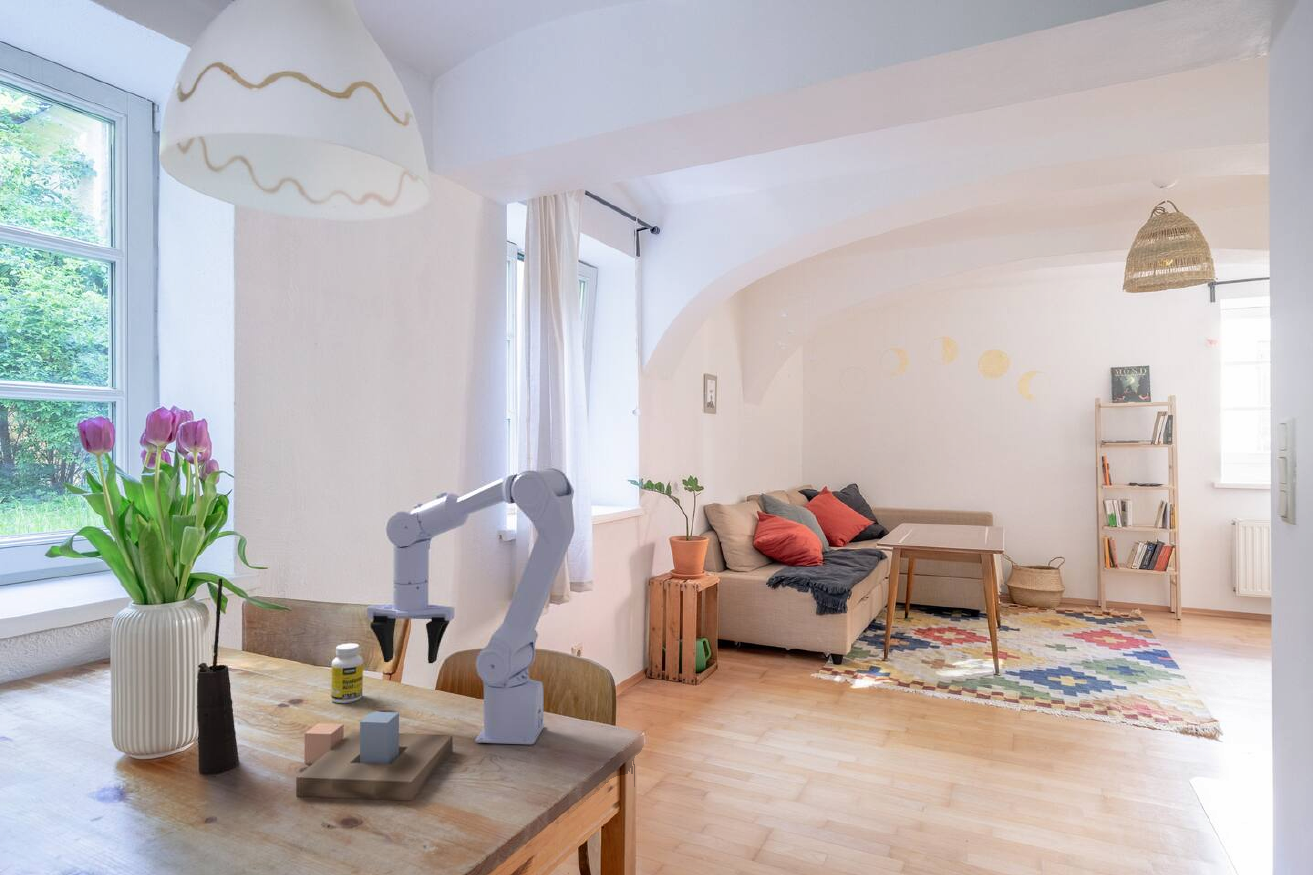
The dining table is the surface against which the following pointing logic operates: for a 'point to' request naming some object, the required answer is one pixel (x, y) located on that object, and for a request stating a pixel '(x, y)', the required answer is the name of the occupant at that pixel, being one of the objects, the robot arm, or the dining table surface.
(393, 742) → the tall pin
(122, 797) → the dining table surface
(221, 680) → the butter churn
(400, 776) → the hole board
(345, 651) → the supplement bottle
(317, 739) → the short pin
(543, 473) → the robot arm
